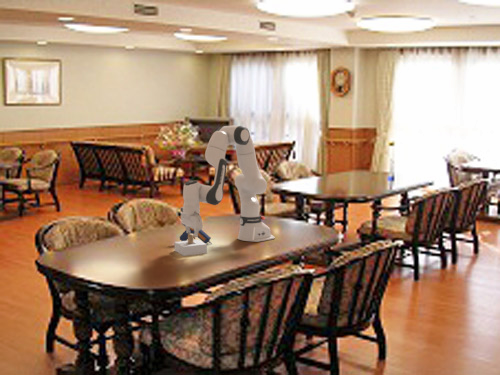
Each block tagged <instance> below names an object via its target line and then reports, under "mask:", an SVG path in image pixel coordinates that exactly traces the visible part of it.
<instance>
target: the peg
mask: <svg viewBox="0 0 500 375" xmlns="http://www.w3.org/2000/svg"><path fill="white" fill-rule="evenodd" d="M193 240H194V238H193V234H188V239H187V241H188V244H193Z"/></svg>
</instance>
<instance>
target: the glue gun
mask: <svg viewBox="0 0 500 375" xmlns="http://www.w3.org/2000/svg"><path fill="white" fill-rule="evenodd" d="M179 219H181V215H179ZM182 226H184V227H185V225H184V224H182ZM189 228H190V227H189ZM194 232H195V231H194V229H193V228H190V233H189V234H193V240H196V237H194ZM197 238H198V240H200V241H202V242H204V243H205V244H210V245H213V243H212V242H211V241H210V240H211V238H212V237H211V236H210V235H209V234H207V233H206V232H205V231H204V230H203V229H202V230H199V232H198V237H197ZM179 240H180V241H188V233H187V232H186V229H185V230H184V232H183V233H182V234H180V236H179Z"/></svg>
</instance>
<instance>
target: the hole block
mask: <svg viewBox="0 0 500 375" xmlns="http://www.w3.org/2000/svg"><path fill="white" fill-rule="evenodd" d="M174 252H176V253H178V254H179V255H181V256H183V257H185V256H194V255H202V253H204V254H208V243H206V244H205V243H204V242H203V241H202V240H200V239H193V244H188V240H187V241H181V240H180V241H174Z"/></svg>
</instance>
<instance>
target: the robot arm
mask: <svg viewBox="0 0 500 375" xmlns="http://www.w3.org/2000/svg"><path fill="white" fill-rule="evenodd" d="M253 141H254V140H253V137H252V135H251V134H250V131H249V129H248V128H247V127H246V126H243V125H235V124H234V125H223V126H222V125H221V126H220V127H218V128H217V129H216V131H214V132H213V133H212V134H211V137H210V138H209V141H208V144H207V147H206V149H205V153H204V158H205V160H206V162H207V163H208V164H209V165H210V166H212V167H213V168H214V170H215V173H214V174H215V175H214V179H213V184H212V185H208V184H207V185H206V184H203V183H201V182H199V181H198V180H195V179H194V180H193V179H191V180H187V181H185V183H184V184H183V189H182V190H183V192H182V198H183V206H182V207H180V208H179V210H180V216H181V218H180V220H181V224H182V225H183V224H184V225H185V226H184V225H183V226H184V227H185V230H186V232H187V233H188V234H189V233H190V228H193V229H194V231H195V232H194V237H195V238H198V232H199V230H203V218H202V216H201V215H200V213H201V212H200V210H201V205H200V203H203V204H209V205H212V206H216V205H218V204H220V203H221V202H222V200H223V199H224V186H225V180H226V174H227V173H226V172H227V167H228V166H227V165H228V164H227V161H226V153H227V149H228V146H235V152H236V159H237V165H238V166H237V167H238V168H239V169H240V170H241V172H242V173H239V174H237V175H236V177H235V179H234V185H235V187H236V189H237V192H238V194H239V195H238V196H239V200H240V215H239V230H238V231H239V232H238V236H237V239H238V240H240V241H243V242H245V241H246V242H255V243H257V242H258V243H260V242H263V241H269V240H274V239H275V235H273V234H272V232H271V228H270V227H269V226H268V225H267V224H266V223H264V222H263V221H264V220H266V217H265V216H261V215H260V202H259V199H258V198H257V195H263V194H264V193H265V192H266V191H267V188H268V182H267V180H266V179H265V178H264V176H263V175H262V172H261V170H260V167H259V165H258V162H257V156H256V149H255V144H254V142H253ZM189 227H190V228H189Z"/></svg>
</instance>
